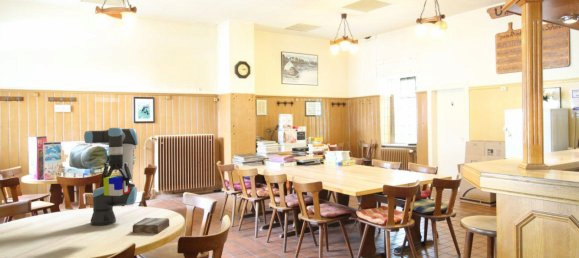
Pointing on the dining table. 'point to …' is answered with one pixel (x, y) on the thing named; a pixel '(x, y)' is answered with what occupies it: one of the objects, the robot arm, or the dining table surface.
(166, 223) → the walnut base
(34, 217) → the dining table surface
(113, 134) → the robot arm
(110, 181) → the puzzle toy
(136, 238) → the dining table surface
